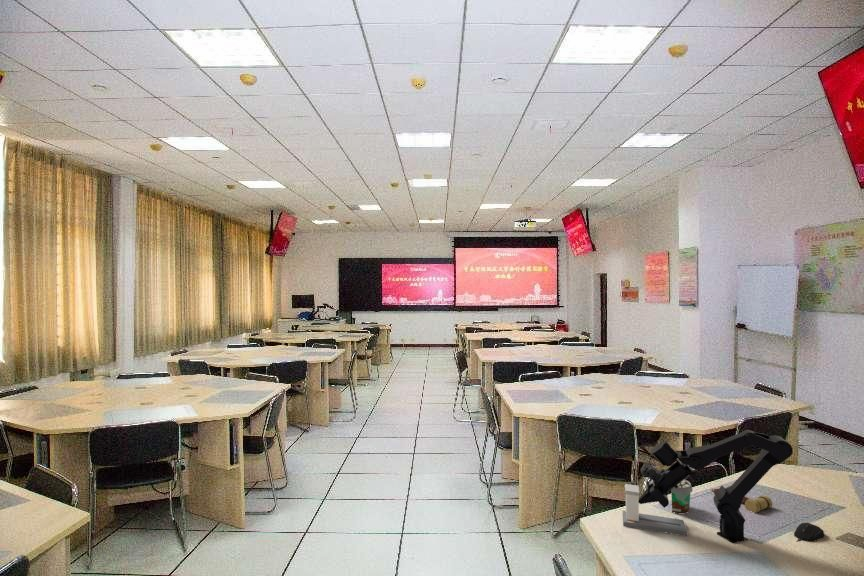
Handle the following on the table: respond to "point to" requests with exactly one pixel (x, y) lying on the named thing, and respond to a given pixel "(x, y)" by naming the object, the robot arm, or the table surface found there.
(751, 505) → the gavel
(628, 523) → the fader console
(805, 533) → the gaming mouse
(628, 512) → the fader knob
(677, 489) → the food container
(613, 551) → the table surface
